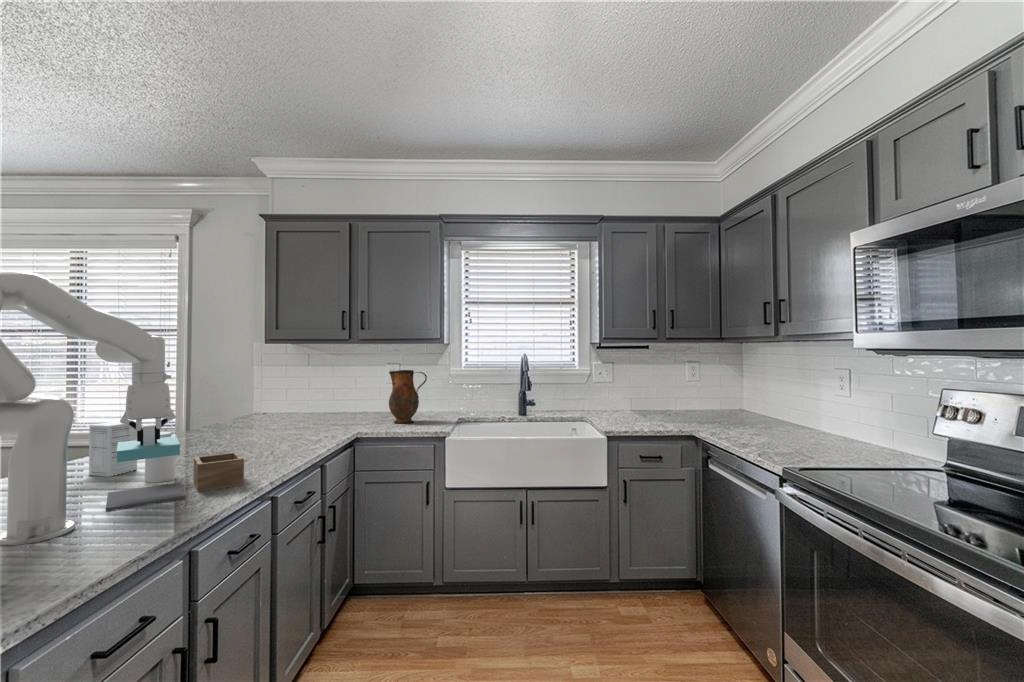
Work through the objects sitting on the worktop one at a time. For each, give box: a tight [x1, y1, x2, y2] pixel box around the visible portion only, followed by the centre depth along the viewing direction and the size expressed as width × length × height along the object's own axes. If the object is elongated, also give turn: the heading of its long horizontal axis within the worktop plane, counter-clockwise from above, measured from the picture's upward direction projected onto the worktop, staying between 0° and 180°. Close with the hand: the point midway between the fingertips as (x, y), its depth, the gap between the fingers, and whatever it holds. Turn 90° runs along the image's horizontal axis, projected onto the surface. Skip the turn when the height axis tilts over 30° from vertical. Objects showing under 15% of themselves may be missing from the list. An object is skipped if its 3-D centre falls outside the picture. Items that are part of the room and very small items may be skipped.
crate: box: [192, 451, 245, 492], centre depth 149 cm, size 12×12×8 cm
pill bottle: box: [144, 431, 177, 484], centre depth 152 cm, size 8×8×15 cm
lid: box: [117, 422, 181, 462], centre depth 136 cm, size 14×14×8 cm
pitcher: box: [388, 369, 428, 425], centre depth 271 cm, size 17×21×30 cm
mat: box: [105, 482, 186, 512], centre depth 135 cm, size 17×17×1 cm
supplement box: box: [88, 420, 138, 478], centre depth 160 cm, size 10×9×17 cm
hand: (148, 442), depth 136 cm, fingers closed on lid, 2 cm apart
